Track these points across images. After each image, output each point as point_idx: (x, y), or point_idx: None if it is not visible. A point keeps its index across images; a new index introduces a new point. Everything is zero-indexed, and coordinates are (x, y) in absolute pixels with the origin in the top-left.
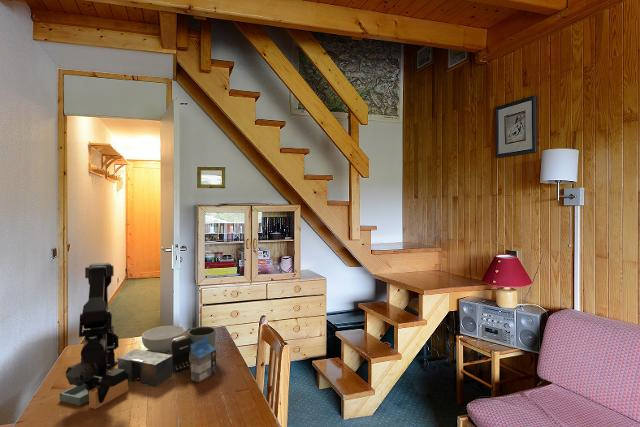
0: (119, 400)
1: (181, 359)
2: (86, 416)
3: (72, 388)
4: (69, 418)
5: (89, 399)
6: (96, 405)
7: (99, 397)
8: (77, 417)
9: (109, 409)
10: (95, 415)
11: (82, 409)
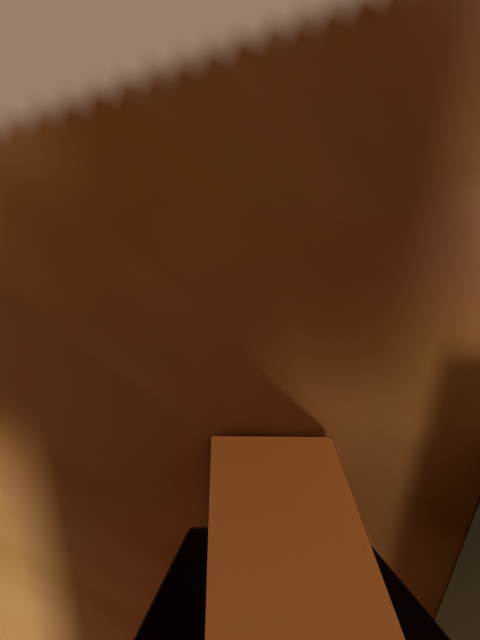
0: (118, 622)
1: None
2: (168, 252)
3: None
4: (403, 106)
5: (362, 540)
6: (211, 478)
7: (163, 625)
8: (288, 180)
9: (33, 478)
10: (60, 316)
11: (395, 378)
